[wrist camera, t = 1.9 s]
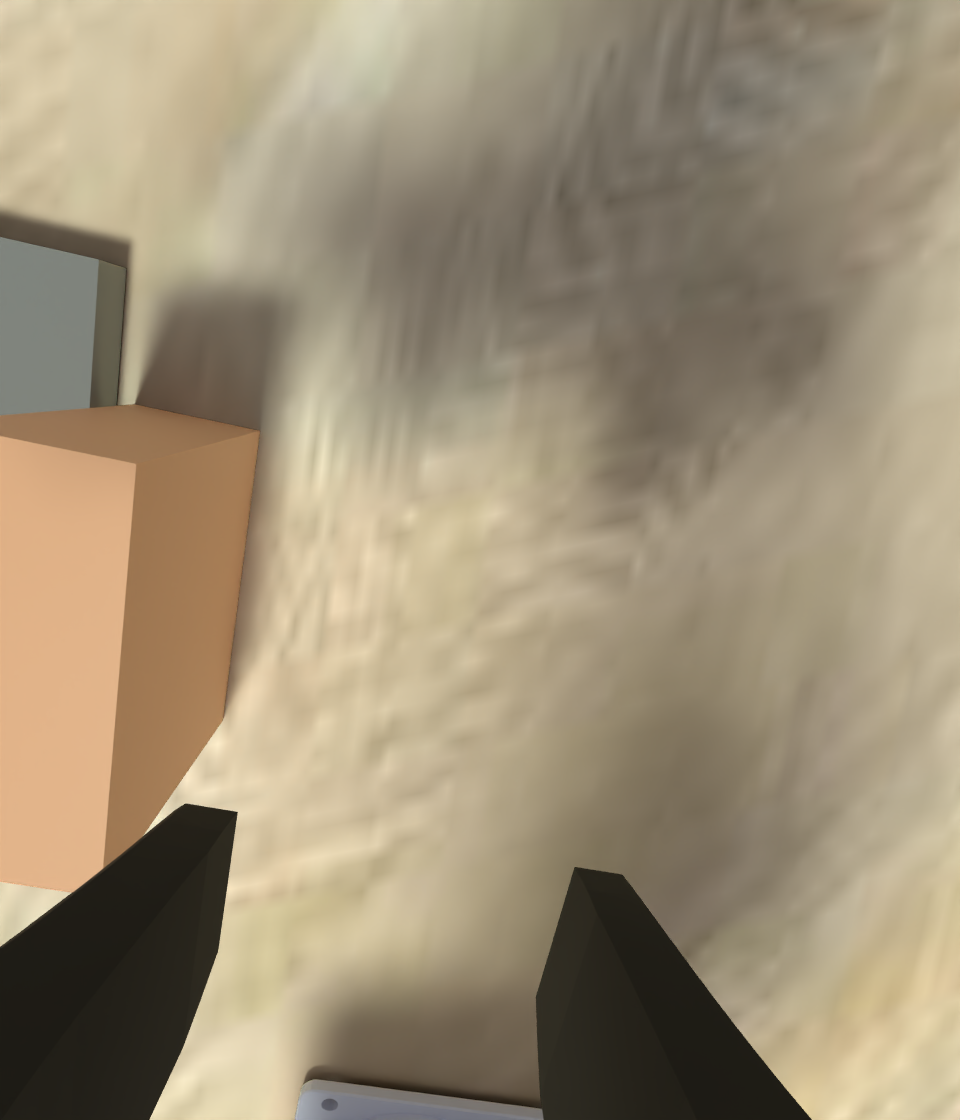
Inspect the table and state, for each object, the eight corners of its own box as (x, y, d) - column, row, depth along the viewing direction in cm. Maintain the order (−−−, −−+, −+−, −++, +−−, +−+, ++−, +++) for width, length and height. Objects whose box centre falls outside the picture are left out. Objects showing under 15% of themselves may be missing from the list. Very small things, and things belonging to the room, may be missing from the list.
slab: (260, 430, 16) (135, 463, 10) (223, 719, 18) (100, 897, 12) (136, 404, 16) (-72, 421, 10) (112, 699, 18) (-72, 870, 12)
